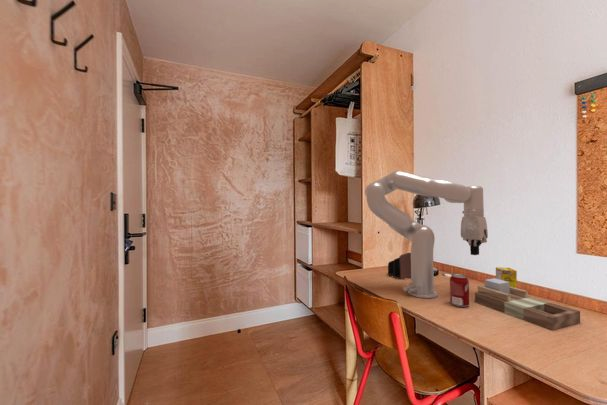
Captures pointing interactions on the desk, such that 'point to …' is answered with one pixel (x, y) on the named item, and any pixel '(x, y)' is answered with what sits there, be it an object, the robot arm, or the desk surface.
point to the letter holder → (400, 267)
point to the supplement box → (507, 275)
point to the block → (498, 285)
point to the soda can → (459, 290)
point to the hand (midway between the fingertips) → (474, 254)
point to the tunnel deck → (528, 307)
